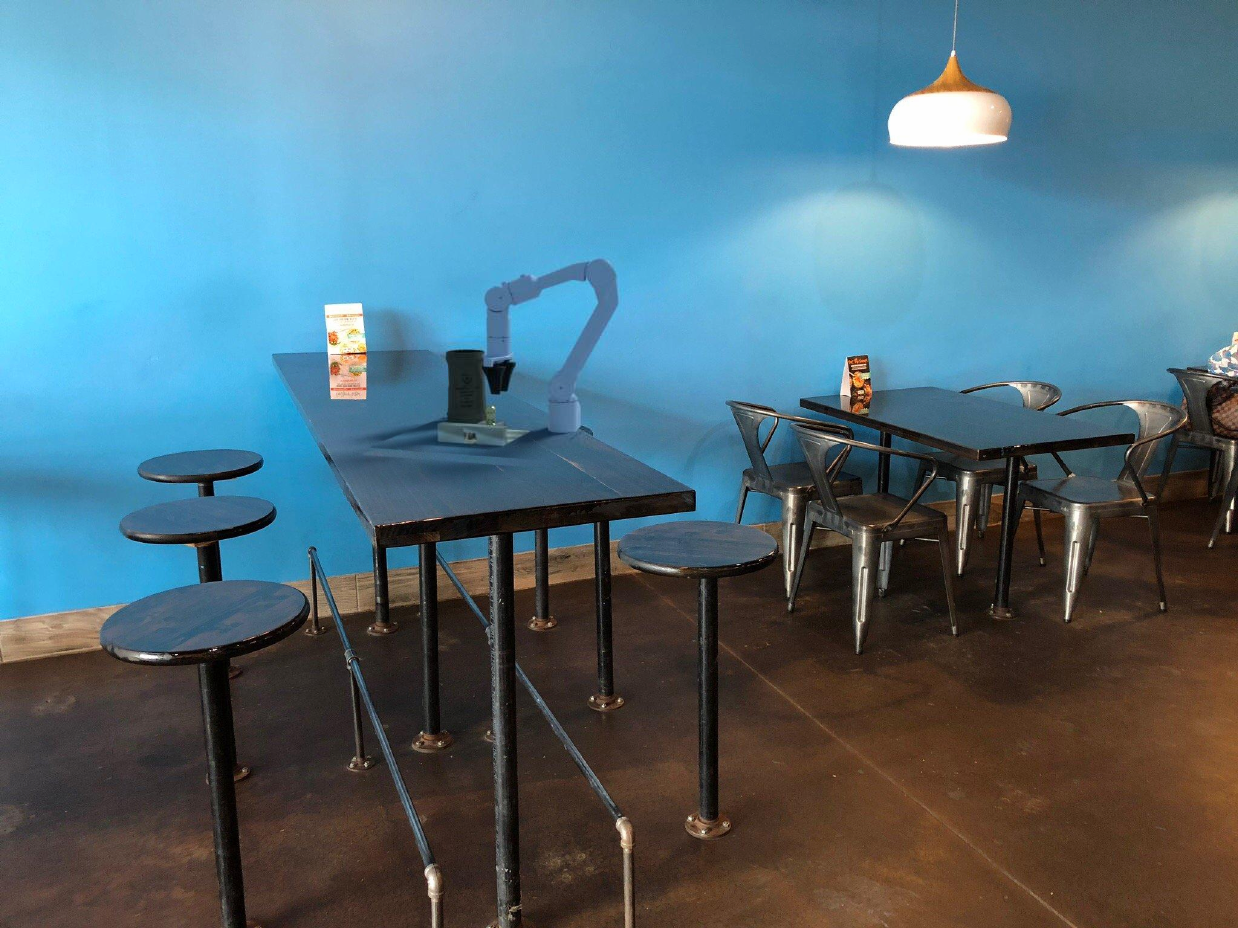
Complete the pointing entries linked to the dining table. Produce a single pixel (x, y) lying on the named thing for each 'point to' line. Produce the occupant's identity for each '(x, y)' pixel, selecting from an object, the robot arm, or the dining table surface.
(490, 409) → the bolt
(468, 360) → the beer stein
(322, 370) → the dining table surface
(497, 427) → the door board
